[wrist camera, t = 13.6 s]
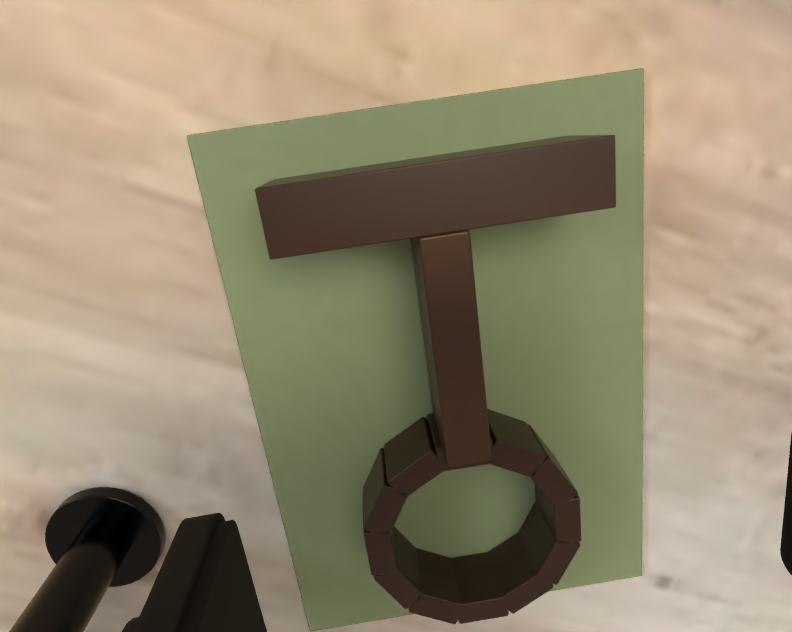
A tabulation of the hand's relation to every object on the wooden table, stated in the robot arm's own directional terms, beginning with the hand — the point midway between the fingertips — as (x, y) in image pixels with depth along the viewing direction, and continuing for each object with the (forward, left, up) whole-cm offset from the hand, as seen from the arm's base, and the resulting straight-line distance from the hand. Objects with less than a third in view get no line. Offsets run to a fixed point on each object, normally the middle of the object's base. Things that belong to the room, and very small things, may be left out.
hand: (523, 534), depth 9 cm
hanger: (0, -3, -11) cm, 12 cm away
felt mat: (0, -3, -12) cm, 12 cm away
